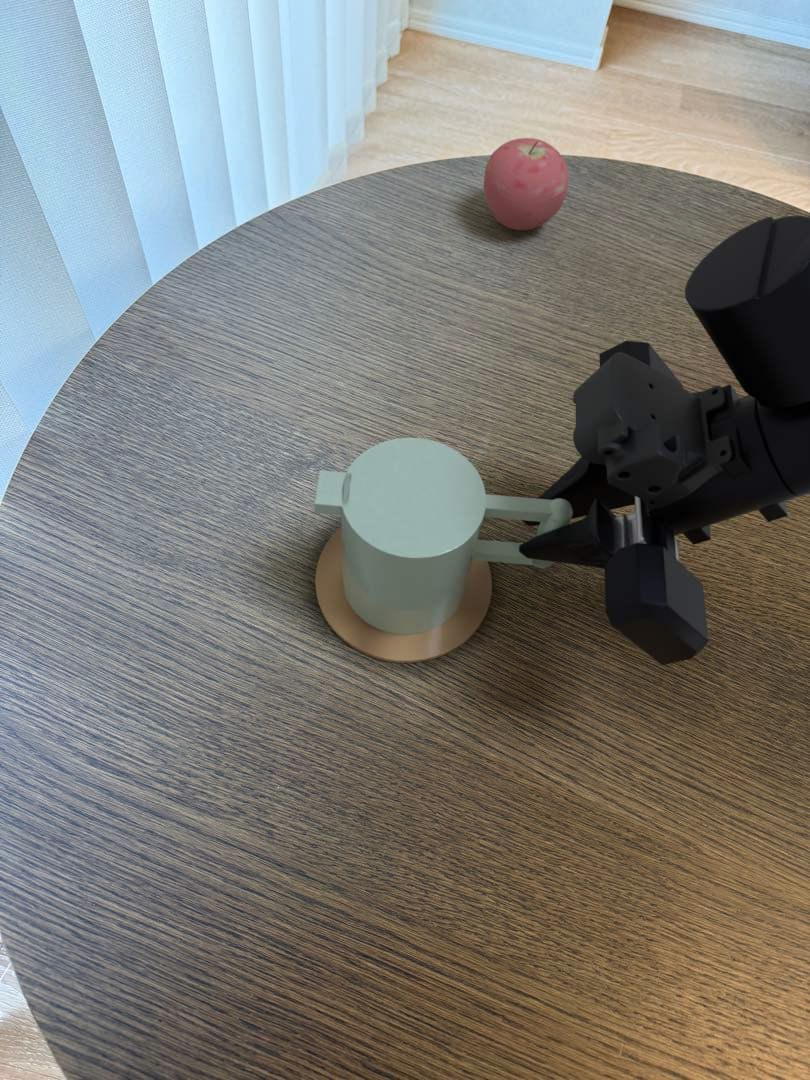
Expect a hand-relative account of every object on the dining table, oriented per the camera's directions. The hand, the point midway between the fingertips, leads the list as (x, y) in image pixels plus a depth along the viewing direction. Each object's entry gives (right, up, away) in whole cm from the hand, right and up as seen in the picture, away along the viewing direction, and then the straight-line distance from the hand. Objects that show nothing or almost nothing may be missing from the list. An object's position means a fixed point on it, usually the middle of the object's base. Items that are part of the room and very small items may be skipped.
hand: (523, 535), depth 51 cm
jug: (-5, -3, +5) cm, 8 cm away
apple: (+3, +29, +26) cm, 39 cm away
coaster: (-7, -3, +5) cm, 10 cm away
